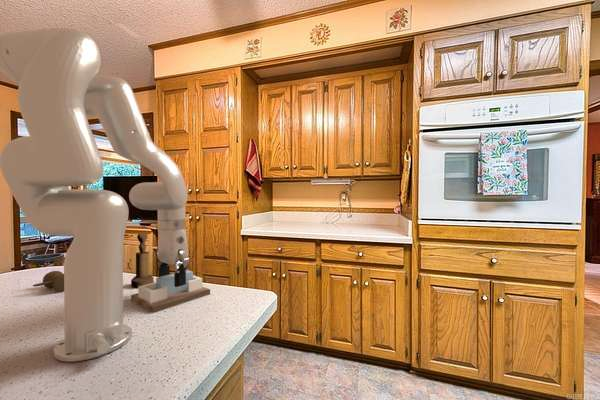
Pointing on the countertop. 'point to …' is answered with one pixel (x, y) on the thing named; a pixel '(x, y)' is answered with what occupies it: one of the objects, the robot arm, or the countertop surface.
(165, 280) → the light blue rectangular block
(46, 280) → the kendama
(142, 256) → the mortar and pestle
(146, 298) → the end caps
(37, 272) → the countertop surface
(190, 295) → the board
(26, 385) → the countertop surface
